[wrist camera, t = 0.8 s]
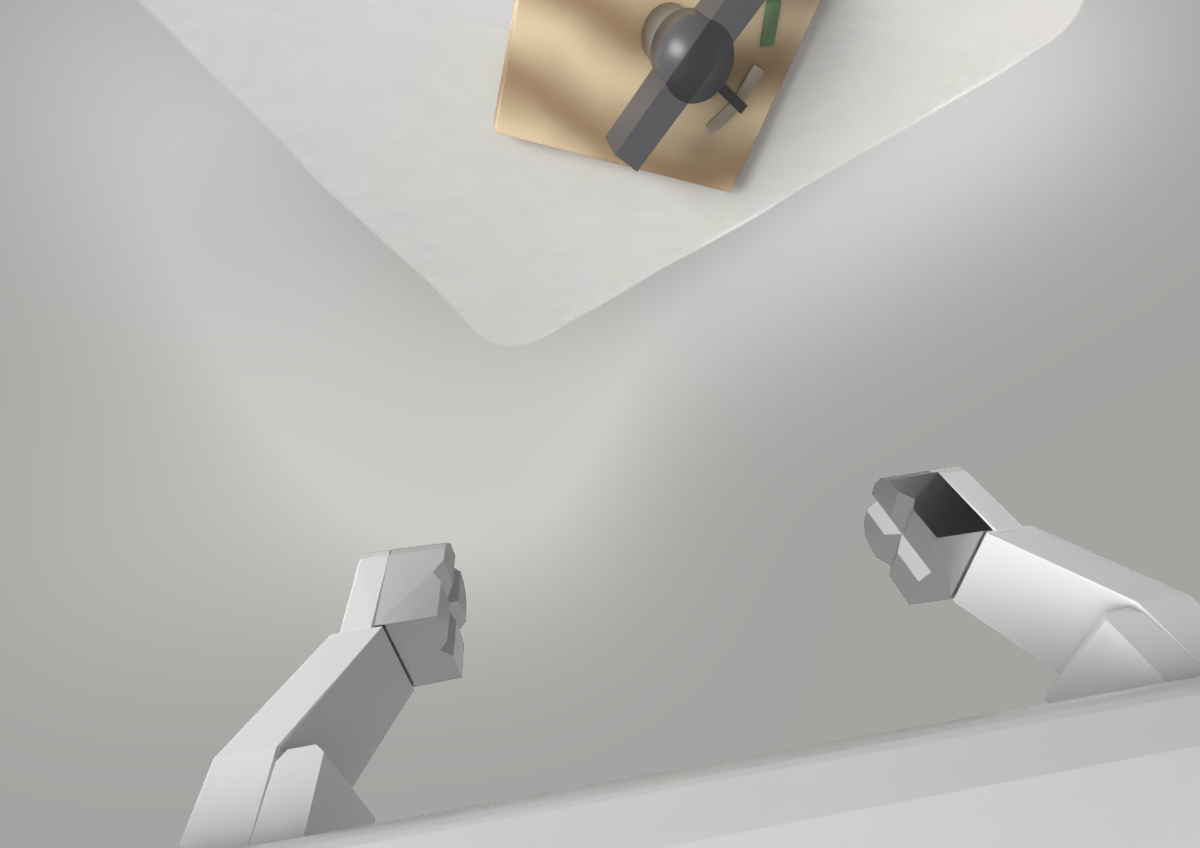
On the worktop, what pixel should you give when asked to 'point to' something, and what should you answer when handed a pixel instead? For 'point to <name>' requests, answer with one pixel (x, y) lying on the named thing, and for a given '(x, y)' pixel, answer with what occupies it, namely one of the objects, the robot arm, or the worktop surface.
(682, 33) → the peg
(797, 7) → the tuner board
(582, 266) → the worktop surface
